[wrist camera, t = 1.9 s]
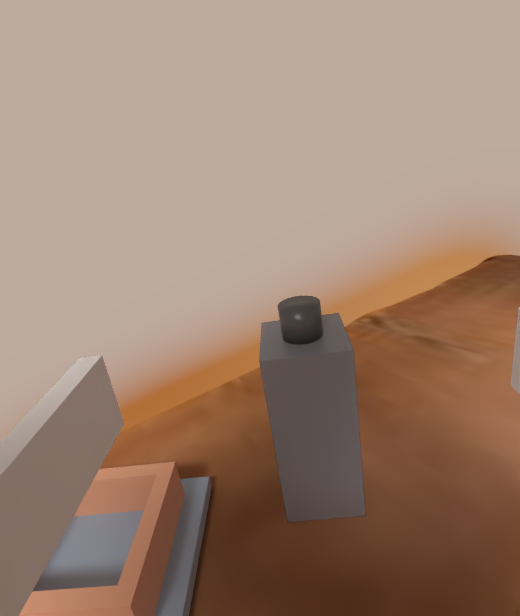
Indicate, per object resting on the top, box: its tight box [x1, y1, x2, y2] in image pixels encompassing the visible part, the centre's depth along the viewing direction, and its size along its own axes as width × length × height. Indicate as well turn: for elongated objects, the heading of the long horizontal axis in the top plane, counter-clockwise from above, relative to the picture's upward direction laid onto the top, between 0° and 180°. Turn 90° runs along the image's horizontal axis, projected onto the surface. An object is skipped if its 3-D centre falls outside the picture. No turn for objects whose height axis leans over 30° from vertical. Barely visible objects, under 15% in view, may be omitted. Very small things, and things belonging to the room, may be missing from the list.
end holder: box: [19, 462, 212, 616], centre depth 23 cm, size 12×12×4 cm
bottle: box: [259, 296, 366, 522], centre depth 25 cm, size 5×5×14 cm
